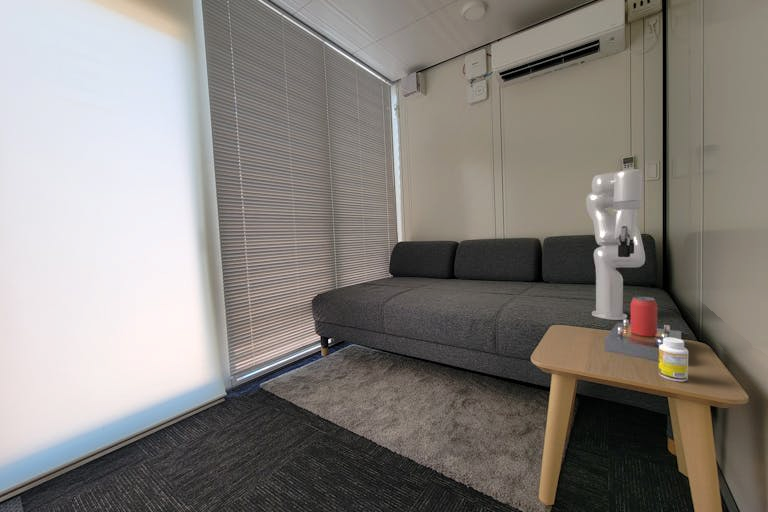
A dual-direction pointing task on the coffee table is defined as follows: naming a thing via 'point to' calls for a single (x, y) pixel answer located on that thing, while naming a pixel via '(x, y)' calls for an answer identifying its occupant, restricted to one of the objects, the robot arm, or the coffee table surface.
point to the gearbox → (637, 341)
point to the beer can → (644, 316)
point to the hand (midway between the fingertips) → (626, 255)
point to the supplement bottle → (673, 359)
